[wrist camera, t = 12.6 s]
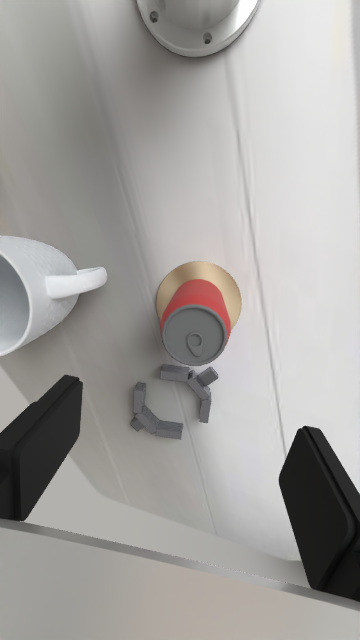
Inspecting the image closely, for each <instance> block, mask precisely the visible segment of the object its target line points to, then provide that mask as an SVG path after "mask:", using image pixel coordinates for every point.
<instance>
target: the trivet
mask: <svg viewBox="0 0 360 640" xmlns="http://www.w3.org/2000/svg"><path fill="white" fill-rule="evenodd" d="M193 279H203V280H206V281H210V282H211V283H213V284H214V285H215V286H217V288H218V289H219V290H220V292H221V293H222V296H223V299H224V302H225V305H226V309H227V312H228V315H229V318H230V321H231V330H232V329H233V327H234V326H235V324H236V322H237V321H238V318H239V316H240V312H241V295H240V291H239V288H238V286H237V284H236V282H235V281H234V279H233V278H232V277H231V276H230V274H229V273H228V272H226V271H225V270H224V269H222V268H221V267H219V266H217V265H215V264H212V263H208V262H199V261H197V262H190V263H186V264H183V265H181V266H179V267H177V268H175V269H174V270H173V271H171V272H170V273H169V274H168V275H167V276H166V278H165V279H164V280H163V282H162V283H161V285H160V288H159V290H158V293H157V299H156V307H157V313H158V316H159V319H160V321H161V318H162V314H163V312H164V310H165V309H166V307H167V305H168V304H169V302H170V300H171V299H172V297H173V295H174V294H175V292H176V291H177V289H178V288H179V287H180V286H181V285H182V284H184V283H185V282H187V281H190V280H193Z"/></svg>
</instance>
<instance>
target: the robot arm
mask: <svg viewBox="0 0 360 640" xmlns="http://www.w3.org/2000/svg"><path fill="white" fill-rule="evenodd" d="M136 1H137V5H138V8H139V11H140V13H141V16H142V18H143V20H144V23H145V24H146V26H147V28H148V29H149V31H150V32H151V34H152V35H153V36H154V37H155V38H156V39H157V40H158V42H159V43H160V44H162V45H163V46H164V47H166V48H167V49H169V50H170V51H172V52H174V53H177V54H179V55H182V56H189V57H200V56H207V55H210V54H213V53H216V52H218V51H220V50H221V49H223V48H225V47H226V46H228V45H229V44H230V43H232V42H233V41H234V40H235V39H236V38H237V37H238V36H239V35H240V34H241V33H242V32H243V30H244V29H245V28H246V26H247V25H248V24H249V22H250V21H251V19H252V17H253V15H254V13H255V12H256V10H257V8H258V5H259V2H260V0H136ZM154 22H155V23H154ZM206 43H209V44H206ZM82 389H83V383H82V382H81V381H79V378H78V377H74V376H69V375H64V376H63V377H62V378H61V379H60V380H59V381H58V382H57V383H56V384H55V385H54V386H53V387H52V388H50V389H49V390H48V391H47V392H46V393H45V394H44V395H43V396H42V397H41V398H40V399H39V400H38V401H37V402H33V403H32V404H30V405H29V406H28V407H27V408H26V409H25V410H24V411H23V412H22V413H21V414H20V415H19V416H18V417H17V418H16V419H15V420H13V421H12V422H11V423H10V424H9V425H8V426H7V427H6V428H5V429H4V430H3V431H2V432H1V433H0V640H360V494H359V492H358V491H357V489H356V487H355V486H354V484H353V482H352V481H351V479H350V478H349V476H348V474H347V473H346V471H345V469H344V468H343V466H342V464H341V463H340V461H339V459H338V458H337V456H336V454H335V453H334V451H333V449H332V448H331V446H330V444H329V443H328V441H327V439H326V438H325V436H324V434H323V433H322V431H321V430H320V429H318V428H314V427H309V426H303V427H302V429H301V428H299V429H298V431H297V433H296V436H295V438H294V441H293V443H292V445H291V448H290V450H289V453H288V455H287V458H286V460H285V463H284V465H283V468H282V470H281V472H280V475H279V486H280V489H281V492H282V496H283V499H284V502H285V506H286V509H287V512H288V516H289V519H290V522H291V526H292V529H293V532H294V536H295V539H296V542H297V546H298V549H299V552H300V556H301V559H302V562H303V566H304V569H305V572H306V576H307V579H308V582H309V585H310V587H311V588H312V589H310V588H306V587H302V586H298V585H294V584H290V583H286V582H281V581H277V580H273V579H269V578H265V577H261V576H257V575H252V574H248V573H244V572H240V571H236V570H231V569H227V568H223V567H219V566H215V565H211V564H206V563H202V562H198V561H194V560H189V559H185V558H181V557H177V556H172V555H168V554H163V553H160V552H155V551H151V550H147V549H142V548H138V547H133V546H129V545H125V544H121V543H116V542H111V541H107V540H103V539H98V538H94V537H90V536H85V535H81V534H77V533H72V532H68V531H63V530H59V529H54V528H49V527H44V526H39V525H34V524H29V523H25V522H20V521H24V520H25V519H26V518H27V517H28V515H29V514H30V512H31V511H32V509H33V508H34V506H35V504H36V503H37V501H38V500H39V498H40V497H41V495H42V494H43V492H44V490H45V489H46V487H47V486H48V484H49V483H50V481H51V479H52V478H53V476H54V475H55V473H56V472H57V470H58V469H59V467H60V465H61V464H62V462H63V461H64V459H65V458H66V456H67V454H68V453H69V451H70V450H71V448H72V447H73V445H74V444H75V442H76V440H77V438H78V436H79V432H80V420H81V404H82Z"/></svg>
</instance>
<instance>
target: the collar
mask: <svg viewBox="0 0 360 640" xmlns="http://www.w3.org/2000/svg"><path fill="white" fill-rule="evenodd" d="M160 379H166V380H174V381H181V382H187V383H188V384H189V386H190V387H191V388H192V389H193V390H194V391H195V392H196V393H197V395H198V396H199V397H200V398H201V399H202V400H201V407H200V420H199V422H203V423H208V418H209V412H210V405H211V392H210V388H209V387H208V386H207V385H209V384H210V383H212V382H213V381H215V380H216V379H218V374H217V373H216V371H215V370H214V369H213V368H212V367H210V368H208V369H207V370H205V371H204V372H202V373H201V374H199V375H197V373H196V372H195V371H194V370H192V371H191V372H189V368H188V367H181V366H173V365H165V364H163V366H162V369H161V374H160ZM145 388H146V384H145V383H137V385H136V387H135V389H134V407H133V413H136V415H135V417H136V418H135V419H133V420H132V422H131V424H130V425H131V426H132V427H133V428H134V429H135V430H136V431H139V430H140V429H142V428H143V427H146V428H147V429H148V430H149V432H150V433H151V434H152V433H154V432H155V431H156V436H160V437H167V438H174V439H181V435H182V427H183V424H182V423H175V422H168V421H161V420H159V419H158V418H157V417H156V416H155V415H154V414H153V413H152V412H151V411H150V410H149V409H148V408H147V407H146V406H145Z"/></svg>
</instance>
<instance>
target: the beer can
mask: <svg viewBox="0 0 360 640" xmlns="http://www.w3.org/2000/svg"><path fill="white" fill-rule="evenodd" d="M160 328H161V337H162V342H163V344H164V346H165V349H166V351H167V352H168V353H169V354H170V355H171V357H172V358H174V359H175V360H177V361H178V362H180V363H183V364H186V365H190V366H201V365H204V364H208V363H210V362H212V361H213V360H215V359H216V358H218V357H219V355H220V354H221V353H222V351H223V350H224V348H225V346H226V344H227V342H228V339H229V336H230V333H231V321H230V318H229V315H228V312H227V309H226V305H225V302H224V299H223V296H222V293H221V292H220V290H219V289H218V288H217V286H215V285H214V284H213V283H211V282H210V281H206V280H203V279H193V280H190V281H187V282H185V283H184V284H182V285H181V286H180V287H179V288H178V289H177V291H176V292H175V294H174V295H173V297H172V299H171V300H170V302H169V304H168V305H167V307H166V309H165V310H164V312H163V314H162V318H161V322H160Z"/></svg>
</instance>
